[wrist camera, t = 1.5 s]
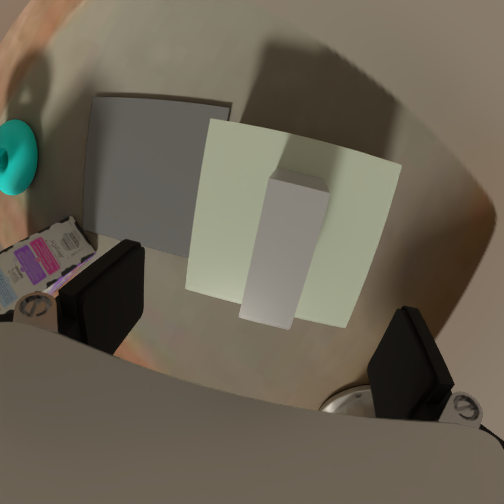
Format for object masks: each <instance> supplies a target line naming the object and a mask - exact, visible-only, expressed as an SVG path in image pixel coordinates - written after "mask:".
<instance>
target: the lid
mask: <svg viewBox="0 0 504 504" xmlns="http://www.w3.org/2000/svg"><path fill="white" fill-rule="evenodd" d="M401 167H402V165H399V164H396V163H393V162H390V161H387V160H384V159H381V158H378V157H375V156H372V155H369V154H366V153H362V152H359V151H356V150H352V149H349V148H345V147H342V146H338V145H335V144H331V143H327V142H323V141H319V140H316V139H312V138H308V137H303V136H299V135H295V134H291V133H286V132H282V131H277V130H272V129H268V128H263V127H258V126H252V125H247V124H242V123H236V122H230V121H224V120H218V119H211V118H210V123H209V128H208V134H207V139H206V145H205V151H204V156H203V162H202V168H201V174H200V181H199V187H198V194H197V200H196V207H195V214H194V221H193V228H192V236H191V244H190V252H189V260H188V269H187V277H186V287H185V289H187V290H191V291H194V292H198V293H202V294H205V295H209V296H213V297H216V298H220V299H224V300H228V301H231V302H235V303H239V304H241V309H240V313H239V318H243V319H247V320H251V321H255V322H259V323H263V324H267V325H271V326H275V327H279V328H284V329H288V330H290V327H291V324H292V321H293V318H294V317H296V318H301V319H305V320H309V321H314V322H318V323H323V324H327V325H332V326H337V327H341V328H346V325H347V323H348V321H349V318H350V316H351V314H352V311H353V309H354V307H355V304H356V302H357V299H358V297H359V294H360V292H361V289H362V287H363V284H364V281H365V279H366V276H367V273H368V271H369V268H370V265H371V263H372V260H373V257H374V254H375V252H376V249H377V246H378V243H379V240H380V237H381V234H382V231H383V228H384V225H385V222H386V219H387V216H388V212H389V209H390V206H391V203H392V199H393V196H394V192H395V189H396V185H397V182H398V178H399V175H400V171H401Z"/></svg>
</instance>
